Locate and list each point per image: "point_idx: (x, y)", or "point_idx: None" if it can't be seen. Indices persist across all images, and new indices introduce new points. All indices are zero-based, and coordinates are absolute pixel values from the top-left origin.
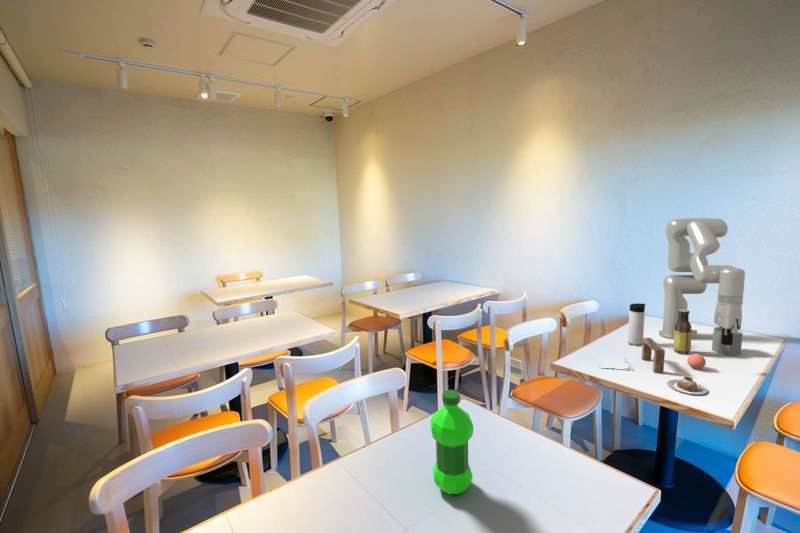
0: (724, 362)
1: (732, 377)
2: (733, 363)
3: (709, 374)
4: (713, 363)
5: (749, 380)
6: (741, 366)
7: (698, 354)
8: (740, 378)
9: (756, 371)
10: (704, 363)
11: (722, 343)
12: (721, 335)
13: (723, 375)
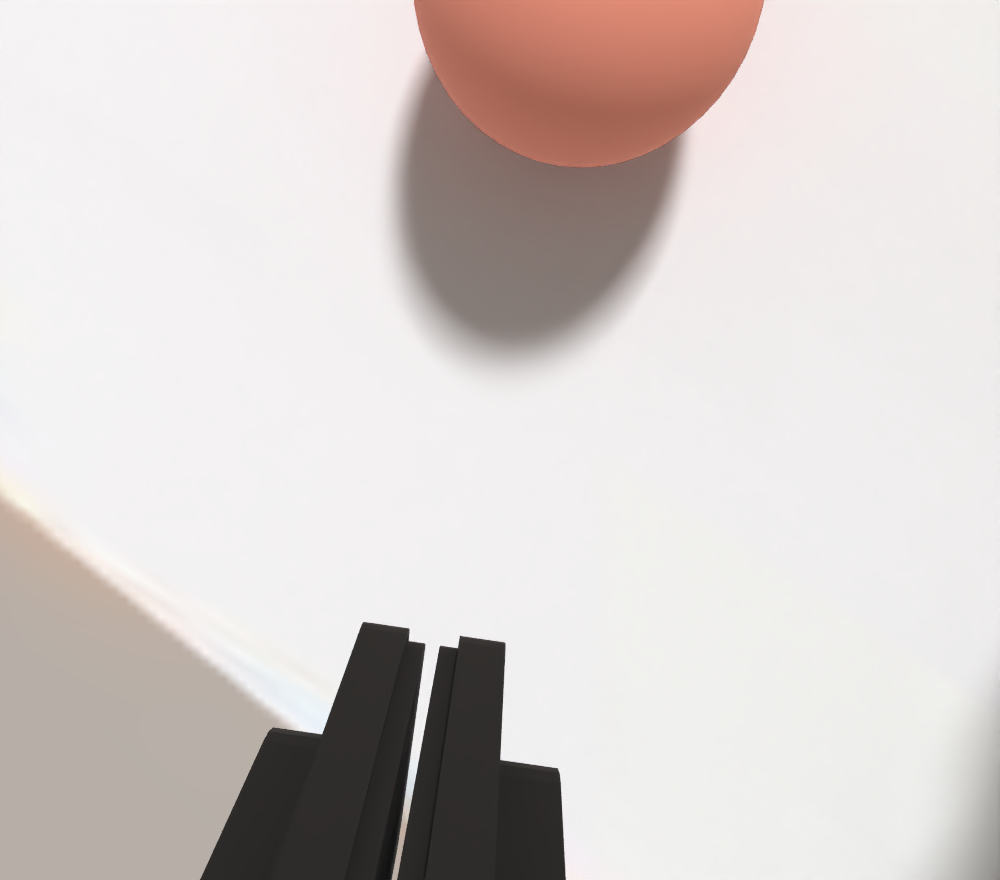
0: (810, 660)
1: (228, 390)
2: (760, 749)
3: (313, 95)
4: (787, 477)
5: (150, 546)
6: (645, 773)
7: (619, 6)
8: (205, 477)
9: None
10: (436, 72)
11: (391, 634)
12: (480, 870)
13: (293, 307)
